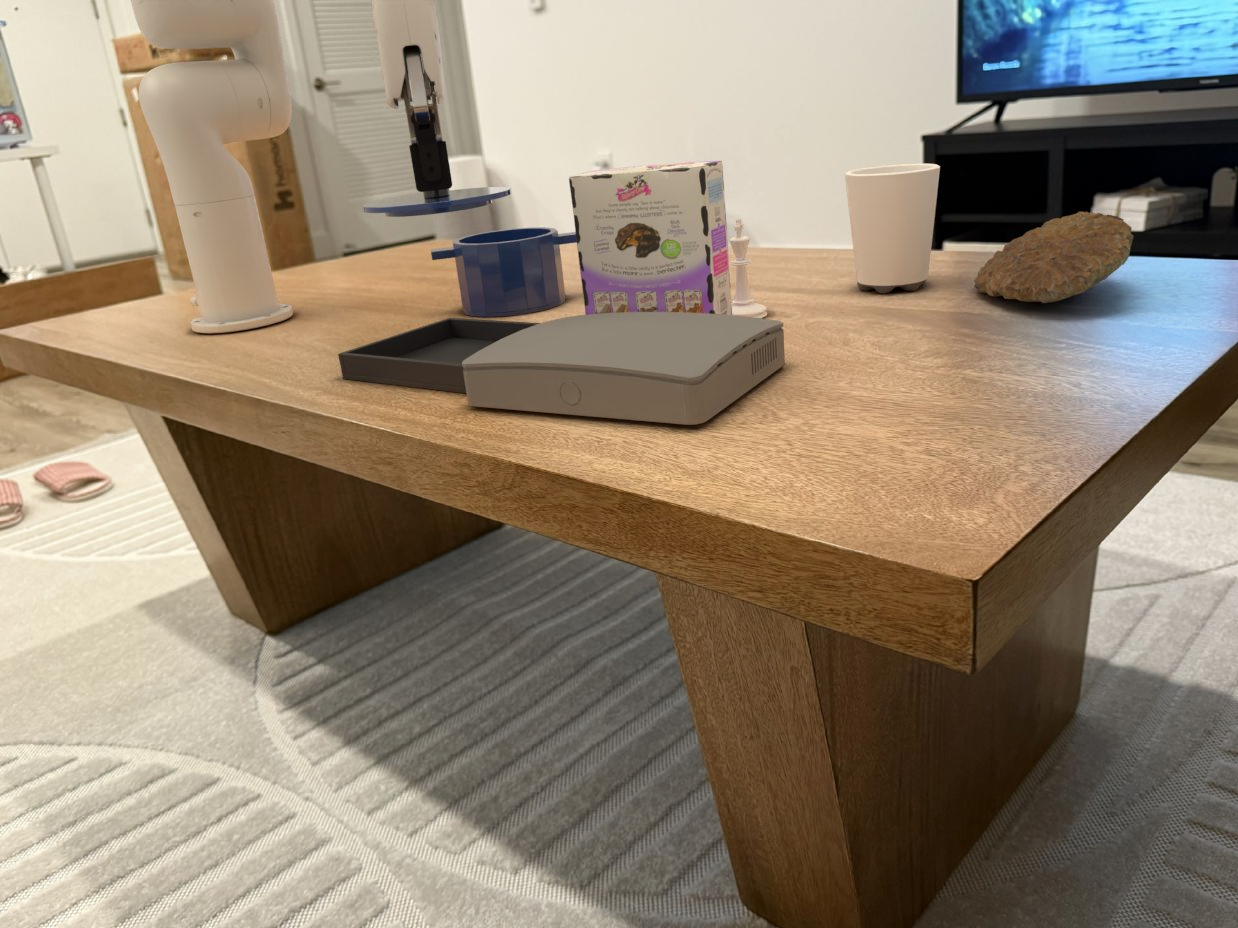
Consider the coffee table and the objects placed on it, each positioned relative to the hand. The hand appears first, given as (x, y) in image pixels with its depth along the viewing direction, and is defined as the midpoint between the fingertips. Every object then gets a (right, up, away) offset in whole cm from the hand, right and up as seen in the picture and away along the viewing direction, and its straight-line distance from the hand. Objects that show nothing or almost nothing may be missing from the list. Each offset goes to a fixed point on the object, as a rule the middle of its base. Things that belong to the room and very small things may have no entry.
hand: (434, 187), depth 90 cm
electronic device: (+18, -19, -7) cm, 27 cm away
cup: (+47, -6, +20) cm, 52 cm away
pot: (+4, -6, +32) cm, 33 cm away
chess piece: (+30, -10, +14) cm, 34 cm away
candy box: (+21, -13, +9) cm, 26 cm away
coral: (+59, -9, +8) cm, 61 cm away
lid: (0, -1, 0) cm, 1 cm away
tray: (+2, -16, +6) cm, 17 cm away
